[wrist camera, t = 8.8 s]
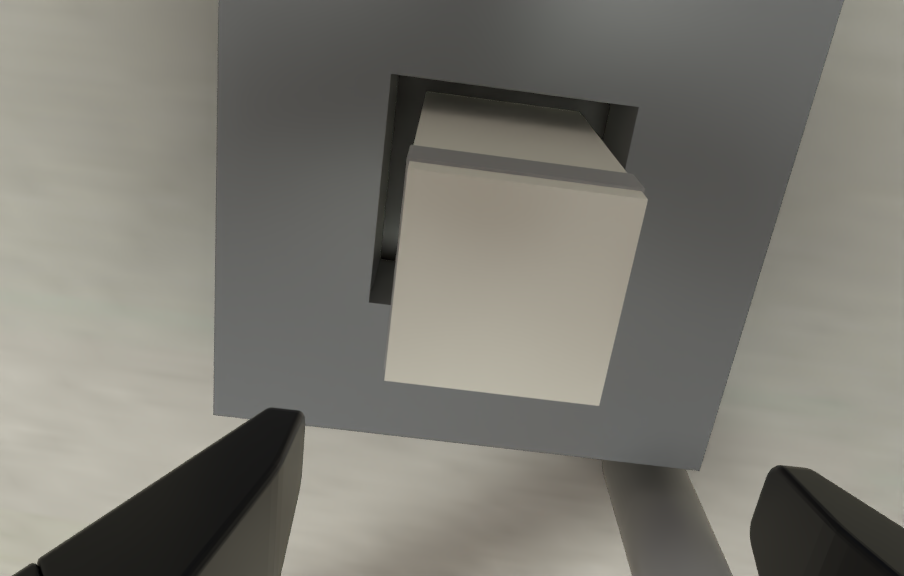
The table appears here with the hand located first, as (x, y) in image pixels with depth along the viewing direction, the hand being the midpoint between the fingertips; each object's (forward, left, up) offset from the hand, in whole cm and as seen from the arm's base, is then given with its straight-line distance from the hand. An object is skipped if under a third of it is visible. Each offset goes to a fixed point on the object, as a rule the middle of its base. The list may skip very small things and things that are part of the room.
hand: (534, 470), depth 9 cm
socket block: (0, +2, -13) cm, 13 cm away
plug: (0, 0, -13) cm, 13 cm away
